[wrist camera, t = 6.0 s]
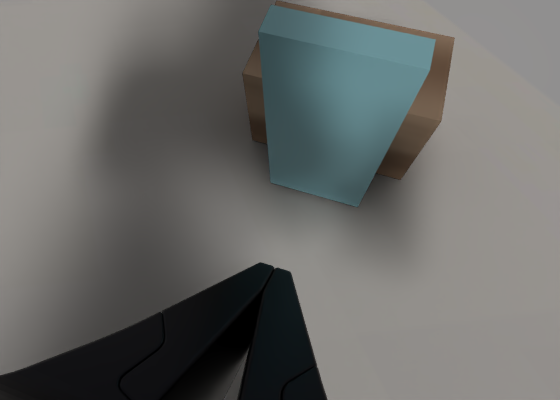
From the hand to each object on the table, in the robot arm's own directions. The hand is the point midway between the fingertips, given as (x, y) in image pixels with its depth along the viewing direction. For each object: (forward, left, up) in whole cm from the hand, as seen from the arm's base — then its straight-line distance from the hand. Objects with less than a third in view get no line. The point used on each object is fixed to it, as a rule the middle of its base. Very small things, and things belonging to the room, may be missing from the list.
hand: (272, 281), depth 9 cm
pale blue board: (+7, +6, -9) cm, 13 cm away
